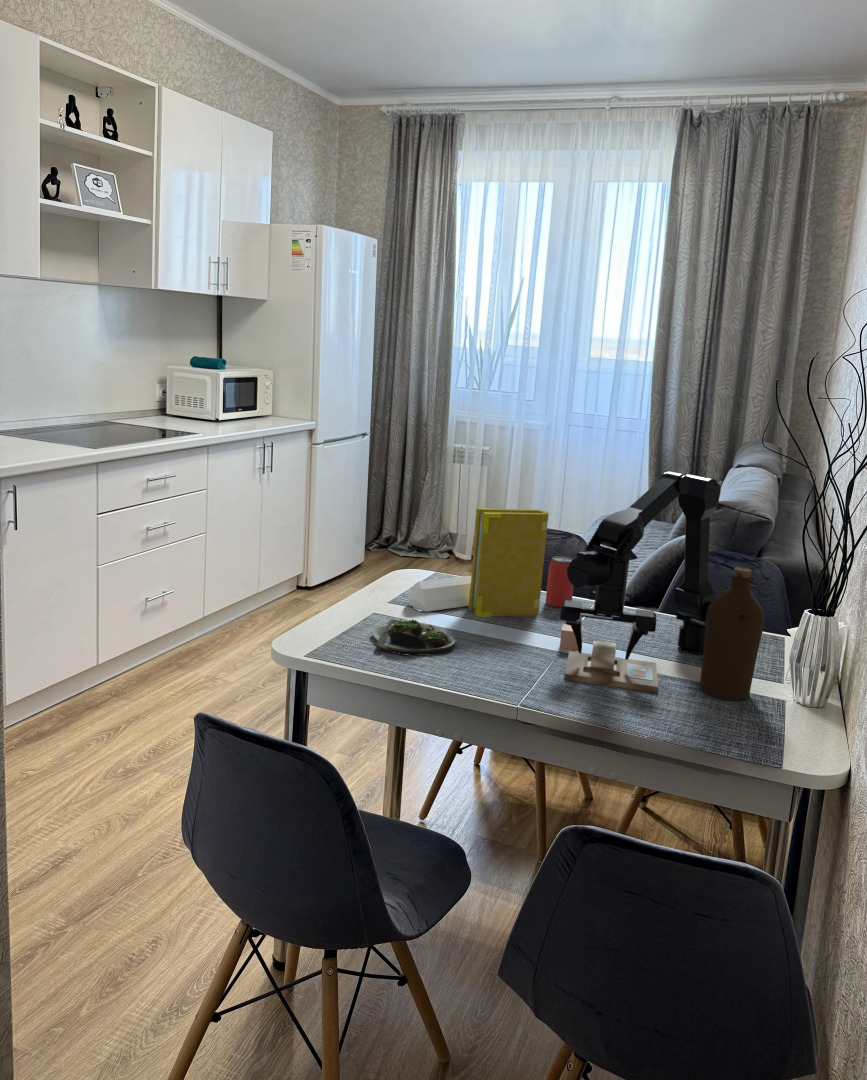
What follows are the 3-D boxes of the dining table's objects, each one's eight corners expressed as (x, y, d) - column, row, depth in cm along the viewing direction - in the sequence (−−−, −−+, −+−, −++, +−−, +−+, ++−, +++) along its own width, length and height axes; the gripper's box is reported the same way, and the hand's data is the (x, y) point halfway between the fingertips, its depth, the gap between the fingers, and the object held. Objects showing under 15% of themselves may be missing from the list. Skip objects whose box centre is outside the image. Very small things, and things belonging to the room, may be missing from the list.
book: (476, 616, 212) (485, 513, 206) (468, 608, 218) (476, 507, 212) (542, 615, 216) (553, 514, 211) (532, 607, 223) (542, 509, 217)
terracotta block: (581, 646, 197) (583, 626, 196) (580, 652, 192) (582, 632, 191) (560, 643, 197) (562, 623, 196) (559, 649, 193) (561, 630, 192)
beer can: (563, 610, 222) (568, 563, 219) (540, 604, 226) (545, 558, 223) (575, 605, 227) (581, 559, 224) (553, 599, 231) (558, 554, 228)
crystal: (423, 601, 208) (503, 591, 221) (409, 580, 212) (489, 571, 225) (412, 623, 212) (491, 611, 226) (399, 601, 216) (478, 591, 230)
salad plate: (356, 629, 198) (357, 609, 197) (432, 625, 204) (433, 606, 203) (381, 659, 180) (382, 637, 179) (463, 654, 186) (464, 633, 185)
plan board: (655, 668, 186) (656, 659, 185) (657, 692, 172) (659, 683, 172) (568, 656, 189) (569, 647, 189) (564, 679, 176) (565, 669, 175)
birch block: (613, 664, 183) (615, 643, 182) (613, 671, 178) (615, 650, 177) (591, 661, 183) (593, 640, 182) (590, 668, 179) (592, 647, 178)
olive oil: (764, 699, 173) (784, 575, 167) (721, 704, 169) (740, 577, 163) (726, 679, 182) (744, 561, 177) (685, 683, 178) (702, 563, 173)
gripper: (658, 577, 183) (649, 649, 186) (567, 566, 186) (559, 637, 190) (660, 591, 172) (650, 667, 176) (563, 580, 176) (555, 654, 179)
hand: (603, 656), depth 180 cm, fingers open, 9 cm apart
